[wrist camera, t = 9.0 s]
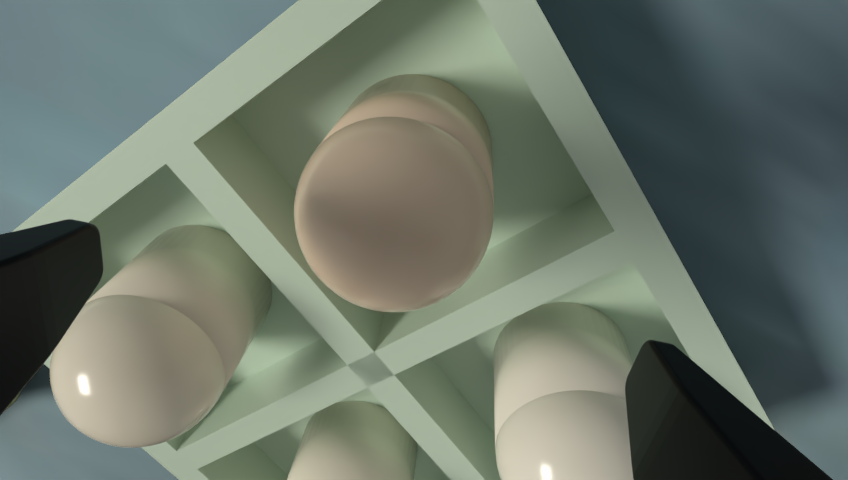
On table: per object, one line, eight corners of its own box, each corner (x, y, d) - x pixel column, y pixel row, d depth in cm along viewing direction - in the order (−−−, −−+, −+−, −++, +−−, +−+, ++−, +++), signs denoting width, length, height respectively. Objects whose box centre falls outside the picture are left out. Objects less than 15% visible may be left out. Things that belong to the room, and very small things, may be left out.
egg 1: (299, 302, 19) (225, 448, 14) (207, 354, 21) (108, 505, 15) (207, 200, 18) (84, 319, 12) (116, 264, 19) (-30, 395, 14)
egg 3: (650, 375, 19) (714, 549, 14) (534, 422, 21) (551, 595, 15) (589, 280, 18) (634, 433, 12) (468, 337, 19) (461, 497, 14)
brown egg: (472, 235, 17) (466, 373, 12) (330, 205, 17) (259, 330, 12) (509, 92, 15) (522, 181, 10) (347, 58, 15) (270, 128, 10)
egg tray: (745, 381, 20) (789, 457, 17) (345, 531, 26) (327, 607, 23) (467, -119, 14) (462, -132, 11) (27, 231, 20) (-51, 282, 17)
